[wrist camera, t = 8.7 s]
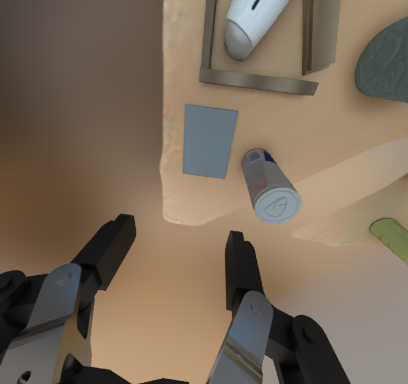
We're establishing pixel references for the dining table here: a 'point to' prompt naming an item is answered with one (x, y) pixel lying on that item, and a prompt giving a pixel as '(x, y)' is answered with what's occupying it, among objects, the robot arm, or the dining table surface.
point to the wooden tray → (242, 78)
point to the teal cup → (385, 64)
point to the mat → (207, 140)
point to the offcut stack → (319, 34)
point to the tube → (392, 237)
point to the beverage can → (269, 188)
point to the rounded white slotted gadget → (249, 24)
